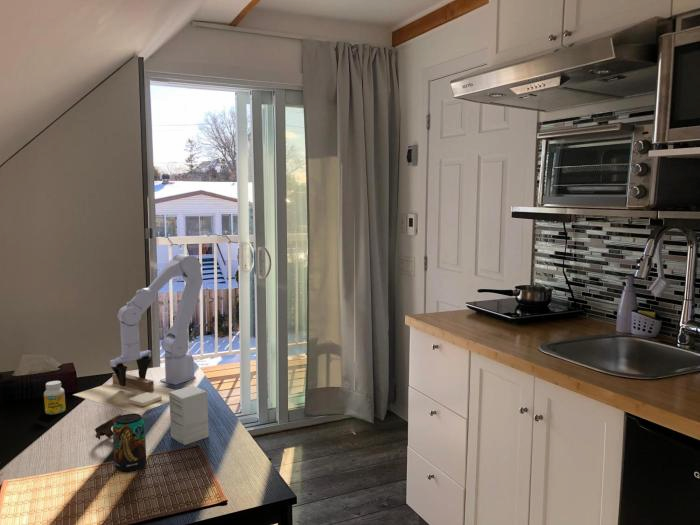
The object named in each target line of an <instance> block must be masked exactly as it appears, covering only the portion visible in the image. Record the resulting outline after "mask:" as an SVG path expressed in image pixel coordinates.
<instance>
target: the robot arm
mask: <svg viewBox="0 0 700 525" xmlns="http://www.w3.org/2000/svg"><path fill="white" fill-rule="evenodd" d="M202 275H203V274H202V264H201V262H200V260H199V259H198V258H197V257H196V256H194V255H191V254H189V255H188V254H184V253H178V254H176V255H174V256H173V258H172V259H170V260H169V261H168V262H167V264H166V265H165V266H164V268H163V269H162V270H161V271H160V273H159V274H158V275H157V276H156V278H154V280H153V281H152V282H151V283H150V284H149V285H148V287H143V288H141V289H137V290H136V292H135V295H134V296H133V297H132V299H131V300H130V301H127V302H126V304H125V305H124V306H122V307H121V308H120V309H119V310H118V313H117V314H116V318H117V319H118V321H119V323H120V329H119V330H120V332H119V333H120V344H121V345H120V346H121V348H120V349H121V355H119V356H118V357H116V358H113V359H110V360H109V365H110V367H111V369H112V371H113V372H114V373H115V374H116V376H117V378H118V381H119V384H120V386H126V374H127V369H128V366H125V364H127V363H130V362H134V361H136V365H137V368H138V369H137V370H138V377H140V378H144V379H146V376H147V372H148V368H149V366H150V364H151V362H152V350H149V349H146V350H141V342H140V326H139V322H141V319H142V315H143V314H144V312H145V311H146V310H148V308H150V306H151V305H152V304H153V303H154V302H155V301H156V300H157V298H156V297H157V293H158V292H159V291H160V290H162V288H164V286H166V284H168V282H170V281H171V280H172V279H173V278H175V277H179V276H181V277H182V278H183V280H184V282H185V284H184V288H183V292H182V295H181V298H180V301H179V304H178V307H177V311H176V312H175V316H174V321H173V324H172V326H171V327H170V328H169V329H168V330H167V333H166V334H165V336H164V337H163V338H162V340H161V348H162V349H163V351H165V353H164V371H165V372H164V374H165V378H163V379H162V378H161V379H160V380H159V382H163V383H166V384H170V385H175V386H176V385H179V384H183V383H184V382H187V381H191V380H194V379H196V377H197V376H196V375H195V361H194V357H193V355H192V354H191V353H190V352H188V350H189V348H190V345H189V340H190V334H189V331H188V329H189V326H190V324H191V321H192V317H193V314H194V311H195V308H196V305H197V301H198V298H199V295H200V292H201V289H202V286H203V282H204V281H203V276H202Z"/></svg>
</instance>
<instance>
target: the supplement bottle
mask: <svg viewBox="0 0 700 525" xmlns="http://www.w3.org/2000/svg"><path fill="white" fill-rule="evenodd" d="M43 401H44V402H43V403H44V412H45V414H46V415H58V414H61V413H64V412H65V411H66V396H65V389H64V388H63V387H62V382H61V381H60V380H52V381H51V380H50V381H47V382H46V383H45V391H44V392H43Z"/></svg>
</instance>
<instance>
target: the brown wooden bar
mask: <svg viewBox="0 0 700 525" xmlns="http://www.w3.org/2000/svg"><path fill="white" fill-rule="evenodd" d="M112 382H113V383H114V384H117V385H120V384H119V381H118V378H117V376H116V374H115V372H114V373H112ZM154 385H155V384H154V380H151V379H147V378H145V379H144V378H140V377H139V376H135V375H132V374H127V373H126V386H125V387H129V388H133V389H137V390H140V391H144V392H150V391H153V390H154Z"/></svg>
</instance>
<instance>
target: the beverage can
mask: <svg viewBox="0 0 700 525" xmlns="http://www.w3.org/2000/svg"><path fill="white" fill-rule="evenodd" d="M141 417H142V415H141V414H140V413H139V414H136V413H125V414H121V416H119V417H117V418H116V419H115V424H114V425H113V426H112V428H111V430H112V431H113V436H112V444H113V458H114V459H113V460H114V463H113V464H114V469H115V470H116V471H118V472H120V473H124V474H126V473H127V474H130V473H135V472H138V471H140V470H142V469H143V468H144V467H145V465H146V464H147V461H148V460H147V443H146V424H145V421H144V419H143V420H142V419H141Z"/></svg>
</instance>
